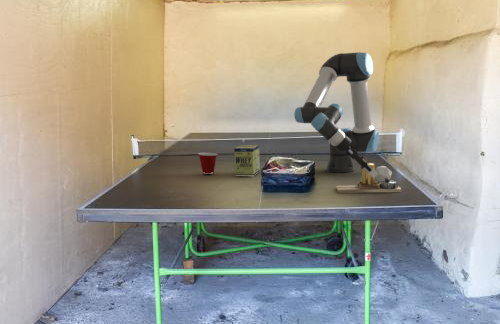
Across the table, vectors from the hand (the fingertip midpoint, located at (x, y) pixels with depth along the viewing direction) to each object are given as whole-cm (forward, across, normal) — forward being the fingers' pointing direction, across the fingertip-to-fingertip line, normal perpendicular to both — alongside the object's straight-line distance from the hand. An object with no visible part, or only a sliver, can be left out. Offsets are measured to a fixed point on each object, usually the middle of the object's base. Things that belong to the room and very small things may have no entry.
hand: (373, 173), depth 245 cm
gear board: (+4, 0, -7) cm, 8 cm away
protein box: (-37, -46, -49) cm, 76 cm away
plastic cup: (-53, -48, -64) cm, 96 cm away
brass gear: (+3, 0, -6) cm, 7 cm away
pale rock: (+11, -18, -1) cm, 21 cm away
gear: (+9, 0, 0) cm, 9 cm away
